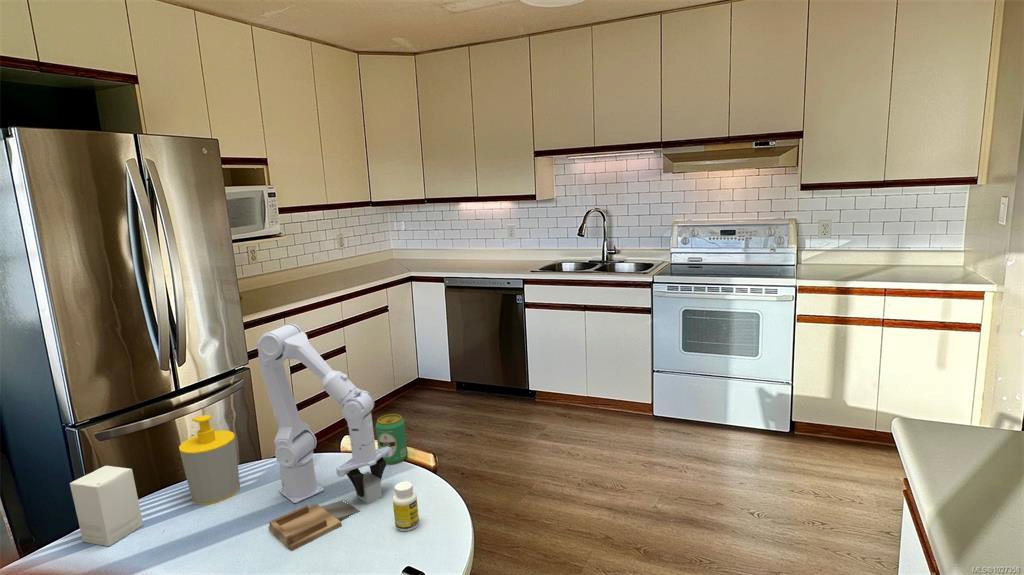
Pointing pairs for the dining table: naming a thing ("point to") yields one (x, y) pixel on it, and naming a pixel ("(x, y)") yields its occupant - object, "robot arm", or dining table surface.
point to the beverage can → (392, 437)
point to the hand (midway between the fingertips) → (368, 491)
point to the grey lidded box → (371, 488)
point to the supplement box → (106, 505)
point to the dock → (309, 523)
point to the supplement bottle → (405, 507)
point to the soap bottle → (210, 463)
